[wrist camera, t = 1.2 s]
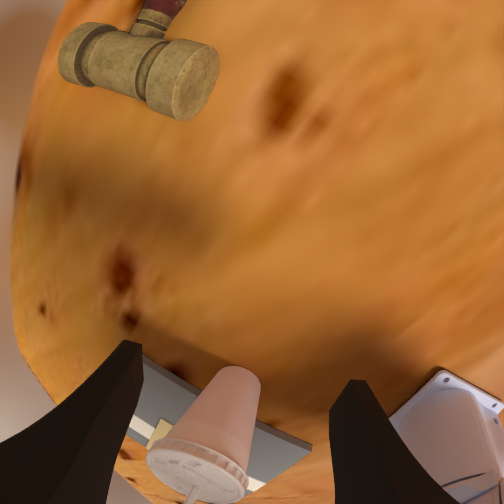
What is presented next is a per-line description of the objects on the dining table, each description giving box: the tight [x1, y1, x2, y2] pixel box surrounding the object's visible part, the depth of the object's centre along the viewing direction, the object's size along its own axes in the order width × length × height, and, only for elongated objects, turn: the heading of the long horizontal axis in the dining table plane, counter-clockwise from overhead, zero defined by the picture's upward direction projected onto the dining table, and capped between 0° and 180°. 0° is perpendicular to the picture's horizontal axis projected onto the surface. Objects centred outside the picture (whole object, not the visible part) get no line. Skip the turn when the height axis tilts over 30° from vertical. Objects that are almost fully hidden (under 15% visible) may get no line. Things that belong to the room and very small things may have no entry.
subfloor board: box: [126, 354, 312, 497], centre depth 27 cm, size 18×14×1 cm
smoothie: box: [146, 366, 261, 504], centre depth 17 cm, size 6×6×14 cm
